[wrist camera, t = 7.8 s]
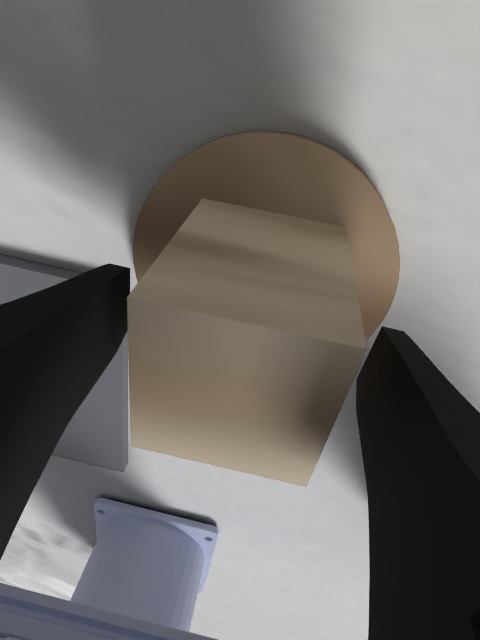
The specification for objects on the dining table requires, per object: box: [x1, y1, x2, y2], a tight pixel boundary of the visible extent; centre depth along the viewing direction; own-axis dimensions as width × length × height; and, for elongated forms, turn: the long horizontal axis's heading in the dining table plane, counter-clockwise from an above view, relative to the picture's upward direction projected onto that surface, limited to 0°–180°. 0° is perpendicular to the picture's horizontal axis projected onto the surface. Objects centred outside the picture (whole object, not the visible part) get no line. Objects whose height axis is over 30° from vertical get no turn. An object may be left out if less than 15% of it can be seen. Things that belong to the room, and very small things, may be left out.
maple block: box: [127, 198, 367, 487], centre depth 11 cm, size 4×4×6 cm
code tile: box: [0, 255, 128, 472], centre depth 19 cm, size 12×12×1 cm
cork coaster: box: [133, 131, 400, 341], centre depth 14 cm, size 9×9×1 cm
